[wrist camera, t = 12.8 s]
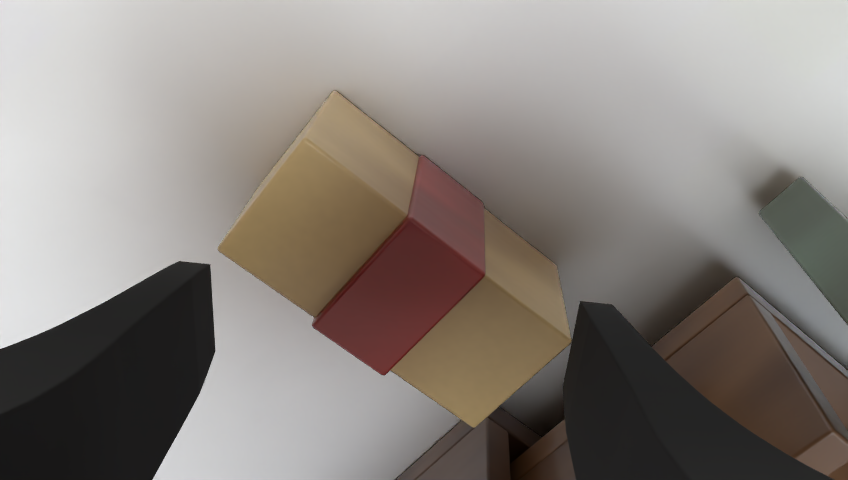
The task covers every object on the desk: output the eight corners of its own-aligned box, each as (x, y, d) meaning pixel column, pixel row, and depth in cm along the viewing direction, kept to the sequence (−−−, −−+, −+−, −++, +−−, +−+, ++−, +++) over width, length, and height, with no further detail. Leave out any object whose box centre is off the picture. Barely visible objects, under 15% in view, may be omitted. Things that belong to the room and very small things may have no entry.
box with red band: (560, 262, 19) (578, 345, 16) (472, 346, 20) (471, 438, 17) (337, 85, 17) (304, 136, 14) (255, 189, 18) (209, 258, 15)
